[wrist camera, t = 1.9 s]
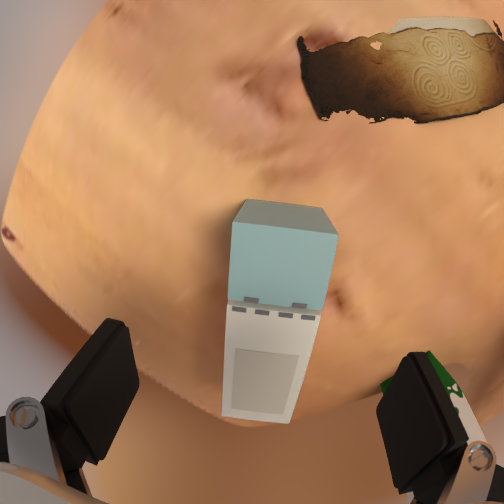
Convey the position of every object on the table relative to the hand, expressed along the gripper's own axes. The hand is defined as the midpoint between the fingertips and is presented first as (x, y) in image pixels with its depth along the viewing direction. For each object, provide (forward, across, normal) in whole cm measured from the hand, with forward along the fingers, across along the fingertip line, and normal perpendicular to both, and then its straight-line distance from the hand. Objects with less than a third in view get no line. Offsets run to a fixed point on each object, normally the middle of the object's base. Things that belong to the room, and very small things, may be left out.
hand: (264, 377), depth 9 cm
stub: (+16, -1, 0) cm, 16 cm away
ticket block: (+16, -1, +9) cm, 18 cm away
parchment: (+16, -13, -17) cm, 27 cm away
